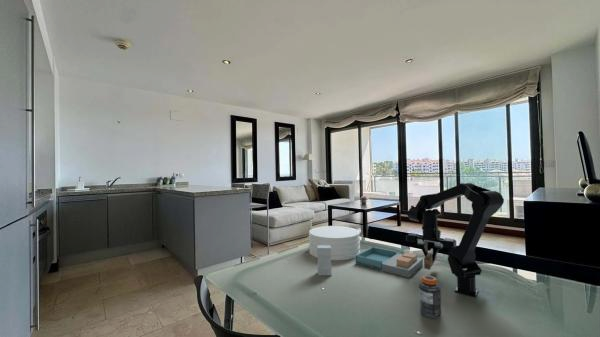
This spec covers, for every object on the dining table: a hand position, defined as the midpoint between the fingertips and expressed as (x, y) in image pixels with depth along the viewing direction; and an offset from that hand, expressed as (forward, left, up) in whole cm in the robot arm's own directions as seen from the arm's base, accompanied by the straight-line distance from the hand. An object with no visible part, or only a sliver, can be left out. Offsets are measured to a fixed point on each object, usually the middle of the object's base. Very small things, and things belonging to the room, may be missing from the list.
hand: (430, 260), depth 109 cm
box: (0, +25, -6) cm, 25 cm away
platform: (0, +12, -6) cm, 13 cm away
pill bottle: (-32, -8, -6) cm, 34 cm away
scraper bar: (0, 0, -1) cm, 1 cm away
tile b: (+3, +10, -3) cm, 11 cm away
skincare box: (-28, +36, -6) cm, 46 cm away
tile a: (-4, +10, -3) cm, 11 cm away
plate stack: (0, +50, -6) cm, 50 cm away
